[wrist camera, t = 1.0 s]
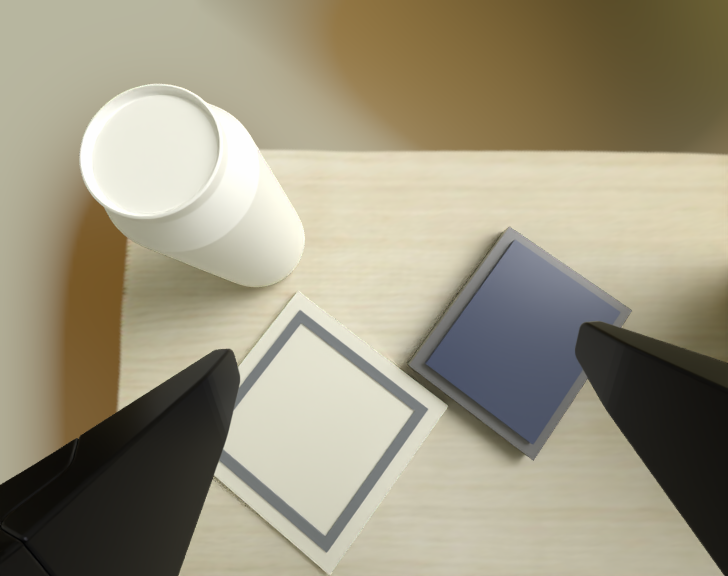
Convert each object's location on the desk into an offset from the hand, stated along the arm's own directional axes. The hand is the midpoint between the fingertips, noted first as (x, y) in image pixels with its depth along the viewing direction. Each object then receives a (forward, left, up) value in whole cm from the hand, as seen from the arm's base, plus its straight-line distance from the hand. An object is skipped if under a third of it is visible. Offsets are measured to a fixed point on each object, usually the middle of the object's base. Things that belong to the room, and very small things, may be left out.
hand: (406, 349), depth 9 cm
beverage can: (0, +11, -14) cm, 17 cm away
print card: (-7, +1, -13) cm, 15 cm away
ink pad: (+5, -6, -13) cm, 16 cm away
